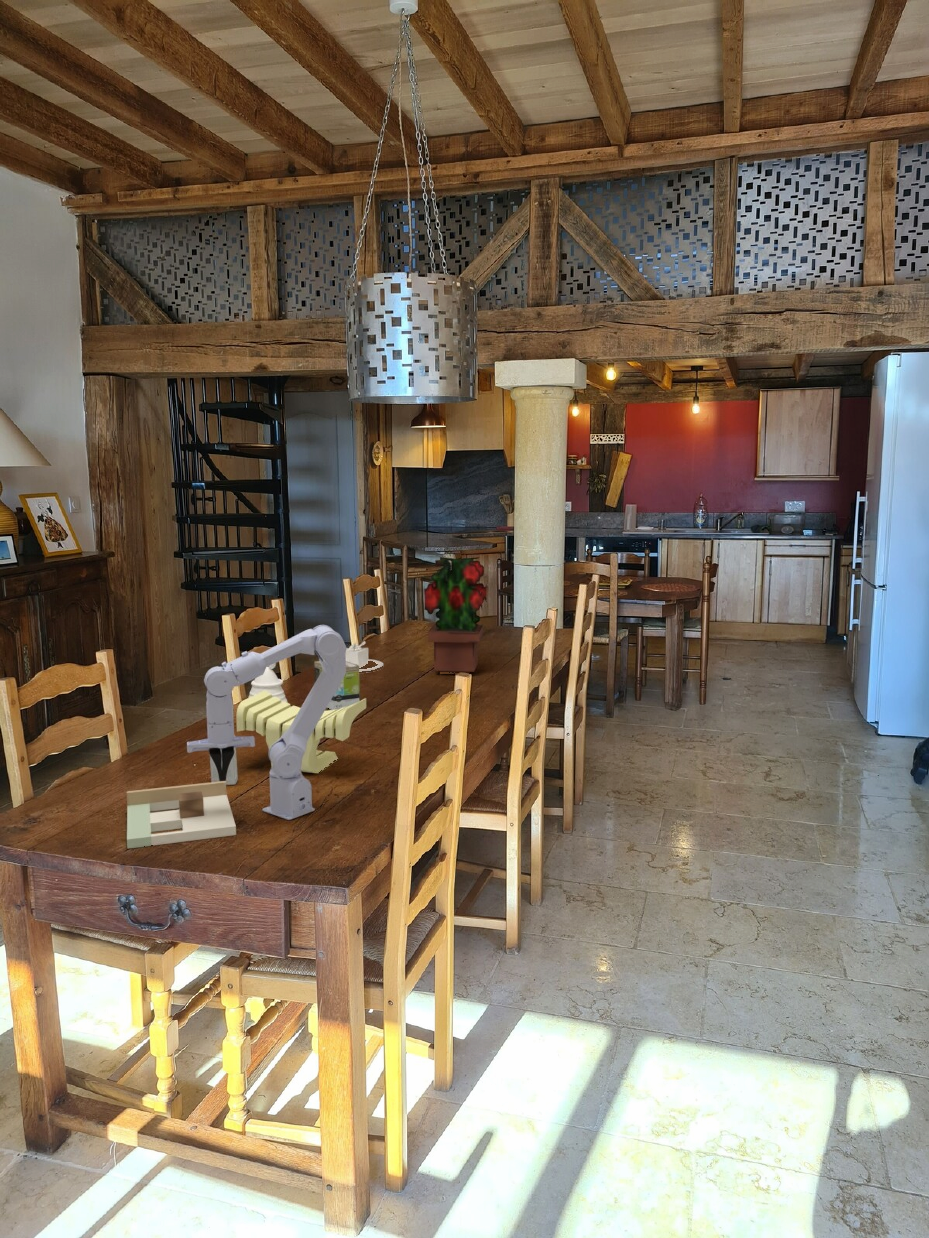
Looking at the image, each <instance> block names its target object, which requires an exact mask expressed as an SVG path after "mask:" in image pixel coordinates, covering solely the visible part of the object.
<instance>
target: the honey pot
mask: <svg viewBox="0 0 929 1238" xmlns="http://www.w3.org/2000/svg"><path fill="white" fill-rule="evenodd" d="M276 665H277V663H274V664H272V665H270V666H267V667H266V669H265V672H264V674H263V675H261V676H259V677H257V678H255V679H253V680H251V681H250V682H251V683H250V685H251V689H250V691H249V695H248V698H250V697H252V696H254V695H256V694H258V693H261V692H263V691H265V690H266V691H267V692H269V693H270V694H272V697H274V696H275V697H277V698H279V699H281V703H282V702H287V703H288V699H287V698H286V694H285V691H284V689H283V688H282V685H283V684H284V680H282V679H280V678H278V676H277V674H276V673H275V671H274V670H273V669H275V668H276Z"/></svg>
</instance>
